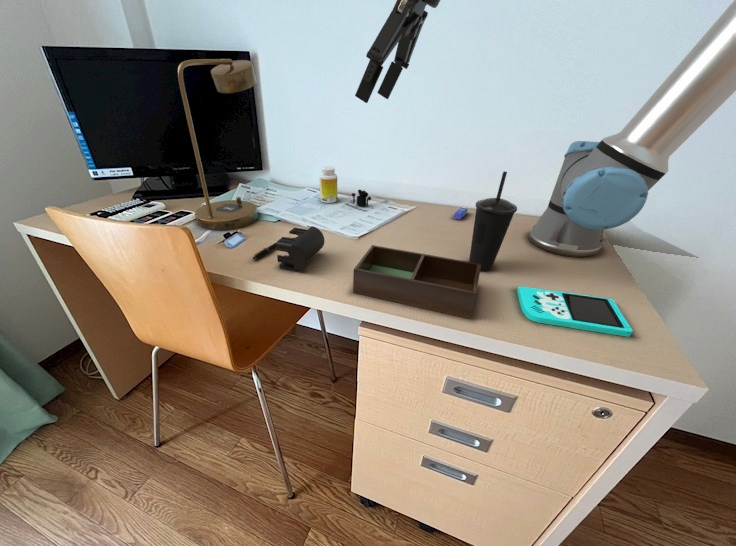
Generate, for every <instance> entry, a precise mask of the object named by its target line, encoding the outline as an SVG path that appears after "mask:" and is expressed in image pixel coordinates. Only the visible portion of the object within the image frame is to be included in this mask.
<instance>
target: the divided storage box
mask: <svg viewBox="0 0 736 546" xmlns="http://www.w3.org/2000/svg"><path fill="white" fill-rule="evenodd" d="M480 268H481V264H480V263H474V262H469V260H461V259H456V258H450V257H445V256H444V257H443V256H439V255H434V254H433V255H432V254H427V253H421V252H414V251H410V250H403V249H397V248H392V247H386V246H379V245H374V244H372V245H371V246H370V247H369V248H368V250H367V251H366V252H365V254H364V255H363V256H362V258H361V259H360V260H359V262H358V263H357V264H356V265H355V267H354V268H353V276H352V278H353V279H352V294H357V295H361V296H366V297H370V298H374V299H379V300H383V301H388V302H393V303H397V304H402V305H407V306H410V307H415V308H418V309H424V310H428V311H433V312H437V313H441V314H446V315H451V316H456V317H459V318H464V319H471V315H472V311H473V309H474V304H475V300H476V297H477V292H478V287H479V280H480V274H481V271H480Z"/></svg>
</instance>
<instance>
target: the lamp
mask: <svg viewBox="0 0 736 546" xmlns="http://www.w3.org/2000/svg"><path fill="white" fill-rule="evenodd" d="M203 65H204V66H206V65H207V66H208V65H216V66H214V67H213V68H212V69H211V70H210V74H211V78H212V80H213V83H214V85H215V89H216V91H217V92H218V93H220V94H234V93H240V92H242V91H243V92H244V91H246V90H248V89H251V88H253V86H255V85H256V84H257V82H258V81H257V76H256V72H255V69H254V66H253V62H252V61H251V60H247V59H237V60H232V58H211V59H210V58H199V59H197V58H196V59H187V60H184V61H181V62H180V63H179V64H178V66H177V79H178V86H179V90H180V95H181V99H182V103H183V108H184V112H185V117H186V121H187V126H188V130H189V135H190V138H191V139H190V140H191V143H192V148H193V152H194V157H195V160H196V165H197V170H198V174H199V178H200V183H201V188H202V192H203V197H204V201H205V204H204V205H202V206H200V207H198V208H197V209H196V210H195V212H194V216H195V217H194V218H195V222H196V224H197V225H198V227H200V228H203V229H206V230H212V231H228V230H235V229H240V228H243V227H246V226H248V225H250V224H253V223H254V222H255V221H256V220H257V219H258V208H257V206H256V204H255V203H253V202H250V201H247V200H242V197H241V196H237V197H235V198H236V199H226V200H220V201H219V200H218V201H213V202H210V197H209V191H208V187H207V183H206V179H205V178H206V177H205V174H204V168H203V164H202V161H201V160H202V159H201V156H200V151H199V146H198V142H197V141H198V140H197V137H196V132H195V127H194V123H193V119H192V114H191V109H190V105H189V100H188V97H187V92H186V86H185V81H184V70H185V68H187V67H190V66H191V67H192V66H203Z"/></svg>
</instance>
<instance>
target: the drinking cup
mask: <svg viewBox="0 0 736 546" xmlns="http://www.w3.org/2000/svg"><path fill="white" fill-rule="evenodd" d="M507 174H508V172H507V171H502V174H501V179H500V181H499V182H500V183H499V186H498V190H497V194H496V197H488V198H483V199H480V200H477V201H476V202H475V216H474V221H473V222H474V223H473V230H472V236H471V237H472V238H471V244H470V251H469V259H468V262H474V263H480V264H481V268H480V272H488V271H491V270H492V269H493V266H494V264H495V261H496V259H497V256H498V254H499V251H500V249H501V247H502V243H503V241H504V239H505V237H506V234H507V233H508V230H509V227H510V225H511V222H512V221H513V217H514V215H515V213H516V212H517V211H518V206H517V205H516V204H514V203H512V202H511V201H509V200H507V199H505V198H503V197H502V198H501V196H502V194H503V193H502V192H503V189H504V185H505V181H506V178H507Z"/></svg>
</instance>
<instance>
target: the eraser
mask: <svg viewBox="0 0 736 546" xmlns="http://www.w3.org/2000/svg"><path fill="white" fill-rule="evenodd" d="M468 210H469V207H467V206H461V207H460V208H458V209H457V210H456V211H455V212H454V216H453V217H454V218H453V219H455V220H459V221H460V220H462V219H463V218H464V217H465V216H466V215H467V213H468Z"/></svg>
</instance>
